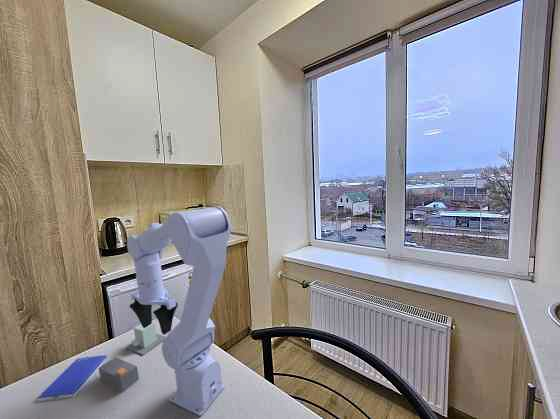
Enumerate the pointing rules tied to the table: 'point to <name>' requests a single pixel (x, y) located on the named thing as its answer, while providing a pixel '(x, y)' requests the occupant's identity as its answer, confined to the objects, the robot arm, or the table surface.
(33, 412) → the table surface
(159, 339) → the mat
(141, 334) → the block
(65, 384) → the blue book
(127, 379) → the power strip
